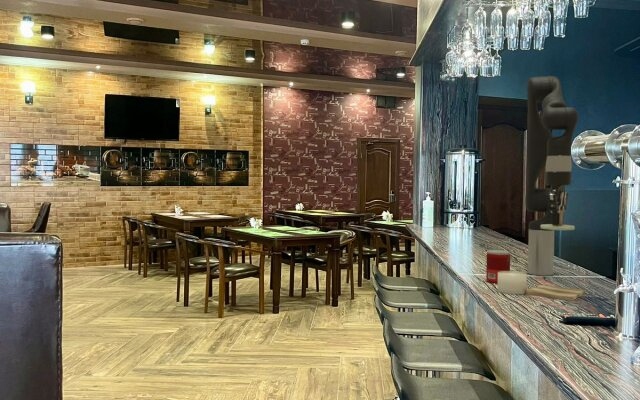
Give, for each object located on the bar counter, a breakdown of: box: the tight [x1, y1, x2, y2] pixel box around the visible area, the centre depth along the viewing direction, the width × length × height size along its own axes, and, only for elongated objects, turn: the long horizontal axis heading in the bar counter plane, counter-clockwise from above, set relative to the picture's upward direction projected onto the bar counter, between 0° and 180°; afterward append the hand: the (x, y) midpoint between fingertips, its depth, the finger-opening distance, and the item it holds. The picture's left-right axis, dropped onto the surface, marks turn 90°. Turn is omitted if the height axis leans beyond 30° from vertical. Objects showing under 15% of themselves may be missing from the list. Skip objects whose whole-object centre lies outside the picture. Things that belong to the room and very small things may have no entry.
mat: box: [525, 284, 586, 301], centre depth 177 cm, size 14×14×1 cm
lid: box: [541, 210, 576, 231], centre depth 176 cm, size 10×10×6 cm
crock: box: [497, 270, 528, 295], centre depth 180 cm, size 9×9×6 cm
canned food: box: [485, 249, 511, 285], centre depth 197 cm, size 8×8×11 cm
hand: (557, 224), depth 177 cm, fingers closed on lid, 3 cm apart
